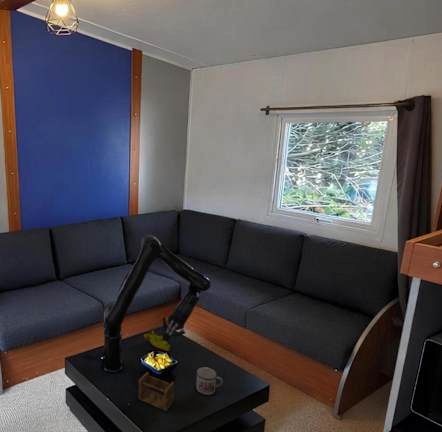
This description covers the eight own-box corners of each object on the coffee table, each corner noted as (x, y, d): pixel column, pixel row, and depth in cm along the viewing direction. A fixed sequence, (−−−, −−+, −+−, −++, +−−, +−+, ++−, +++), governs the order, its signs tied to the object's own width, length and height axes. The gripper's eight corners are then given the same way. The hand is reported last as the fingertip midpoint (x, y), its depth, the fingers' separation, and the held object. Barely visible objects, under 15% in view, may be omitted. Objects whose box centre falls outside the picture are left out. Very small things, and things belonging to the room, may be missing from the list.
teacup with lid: (196, 394, 188) (197, 372, 186) (194, 382, 197) (196, 361, 194) (223, 397, 186) (225, 375, 183) (220, 385, 195) (222, 363, 192)
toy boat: (150, 338, 238) (150, 323, 236) (173, 352, 223) (174, 336, 221) (142, 342, 234) (142, 326, 232) (165, 356, 220) (165, 339, 218)
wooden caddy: (138, 399, 186) (138, 379, 183) (146, 390, 192) (147, 371, 190) (166, 411, 177) (167, 391, 175) (173, 401, 183) (174, 382, 181)
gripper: (170, 302, 197) (151, 332, 197) (193, 318, 191) (173, 349, 190) (173, 303, 204) (155, 332, 204) (196, 319, 197) (177, 349, 197)
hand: (164, 340), depth 197 cm, fingers closed
